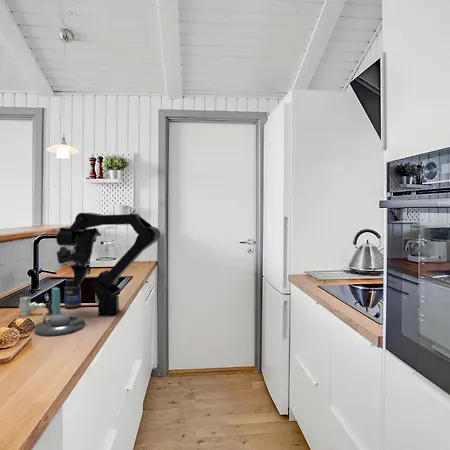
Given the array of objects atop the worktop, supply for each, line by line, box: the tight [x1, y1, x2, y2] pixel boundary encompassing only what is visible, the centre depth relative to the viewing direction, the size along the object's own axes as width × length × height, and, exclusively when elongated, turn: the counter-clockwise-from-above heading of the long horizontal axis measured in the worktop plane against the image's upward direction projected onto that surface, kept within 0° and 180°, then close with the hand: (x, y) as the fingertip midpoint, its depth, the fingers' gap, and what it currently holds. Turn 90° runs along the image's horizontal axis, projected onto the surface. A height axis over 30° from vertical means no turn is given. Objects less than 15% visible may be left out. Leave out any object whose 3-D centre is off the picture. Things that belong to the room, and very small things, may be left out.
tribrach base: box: [33, 312, 86, 337], centre depth 118 cm, size 15×15×4 cm
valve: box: [18, 296, 53, 317], centre depth 134 cm, size 7×7×12 cm
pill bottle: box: [63, 278, 82, 310], centre depth 144 cm, size 6×6×11 cm
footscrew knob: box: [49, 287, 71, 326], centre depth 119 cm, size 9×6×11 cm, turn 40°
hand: (75, 287), depth 127 cm, fingers closed
